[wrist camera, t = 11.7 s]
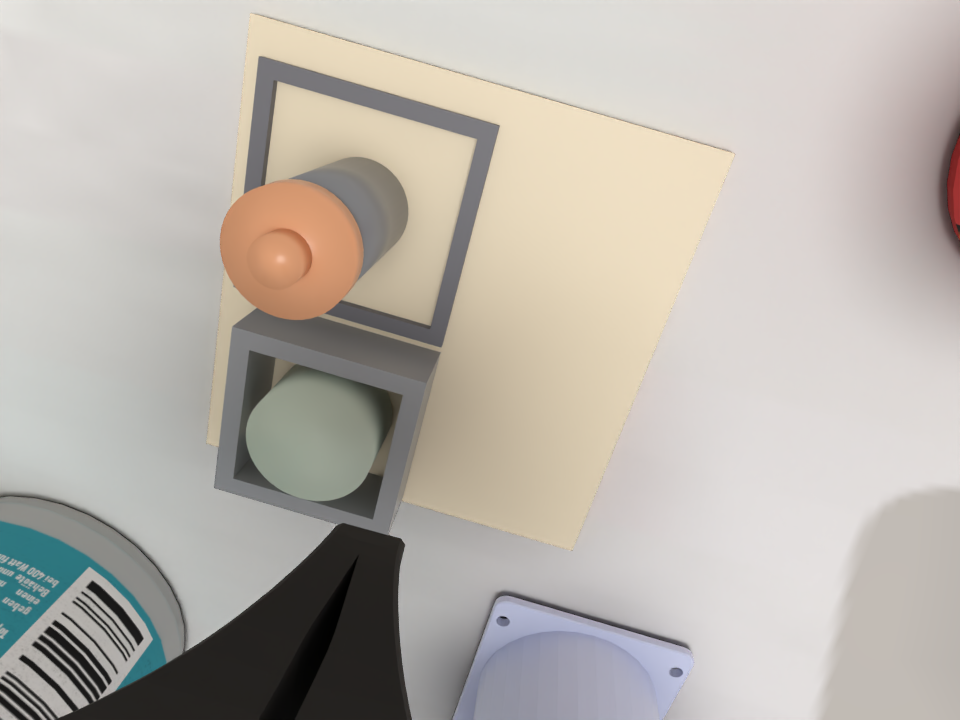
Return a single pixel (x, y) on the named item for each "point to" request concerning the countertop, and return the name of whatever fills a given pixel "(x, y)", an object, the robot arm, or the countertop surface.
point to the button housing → (338, 355)
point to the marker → (312, 236)
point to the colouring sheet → (487, 262)
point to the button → (318, 433)
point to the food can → (75, 611)
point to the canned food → (954, 189)
